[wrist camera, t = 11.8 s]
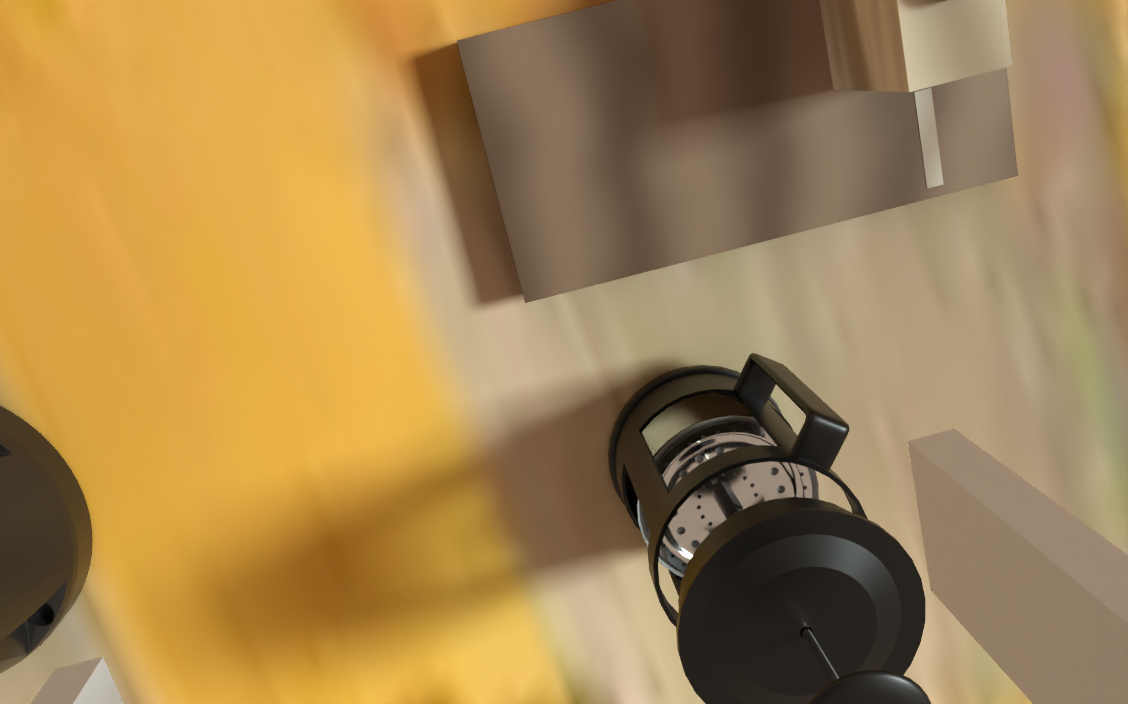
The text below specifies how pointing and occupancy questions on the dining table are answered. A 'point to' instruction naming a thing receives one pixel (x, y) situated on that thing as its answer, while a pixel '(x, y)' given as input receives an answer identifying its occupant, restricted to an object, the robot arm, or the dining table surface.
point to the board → (704, 135)
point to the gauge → (913, 42)
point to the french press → (767, 548)
